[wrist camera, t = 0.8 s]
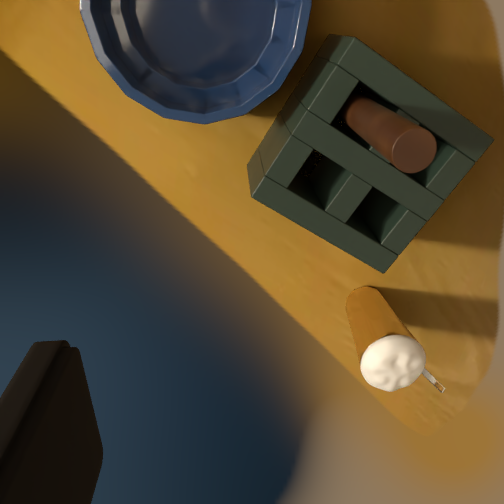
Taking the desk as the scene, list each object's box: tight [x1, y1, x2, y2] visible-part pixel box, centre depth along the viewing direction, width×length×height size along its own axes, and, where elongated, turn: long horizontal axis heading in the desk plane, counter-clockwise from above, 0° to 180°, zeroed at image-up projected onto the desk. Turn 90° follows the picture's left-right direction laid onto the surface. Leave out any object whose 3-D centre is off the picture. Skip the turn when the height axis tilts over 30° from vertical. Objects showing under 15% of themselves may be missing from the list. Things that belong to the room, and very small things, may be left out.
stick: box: [336, 90, 437, 173], centre depth 27 cm, size 2×2×15 cm
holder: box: [247, 34, 494, 273], centre depth 31 cm, size 10×10×7 cm
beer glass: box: [346, 286, 445, 393], centre depth 36 cm, size 5×5×10 cm
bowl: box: [80, 0, 312, 124], centre depth 28 cm, size 12×12×6 cm
